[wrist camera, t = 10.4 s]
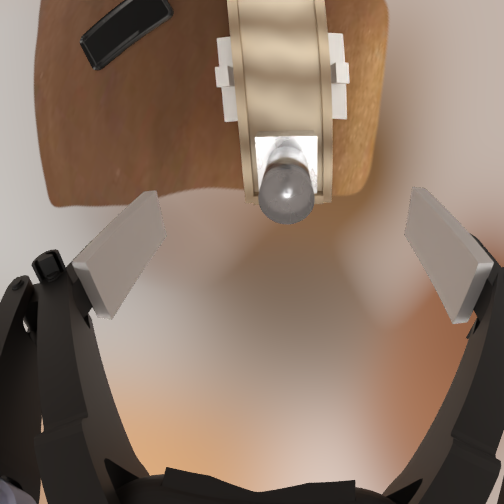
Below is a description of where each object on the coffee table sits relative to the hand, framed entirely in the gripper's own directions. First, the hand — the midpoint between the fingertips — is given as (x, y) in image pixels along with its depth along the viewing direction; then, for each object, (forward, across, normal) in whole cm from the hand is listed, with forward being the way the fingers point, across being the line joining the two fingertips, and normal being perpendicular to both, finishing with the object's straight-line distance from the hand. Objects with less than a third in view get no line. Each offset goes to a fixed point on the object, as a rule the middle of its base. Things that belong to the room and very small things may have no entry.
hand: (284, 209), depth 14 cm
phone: (+27, -22, +20) cm, 40 cm away
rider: (+19, 0, -2) cm, 19 cm away
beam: (+23, 0, +8) cm, 24 cm away
